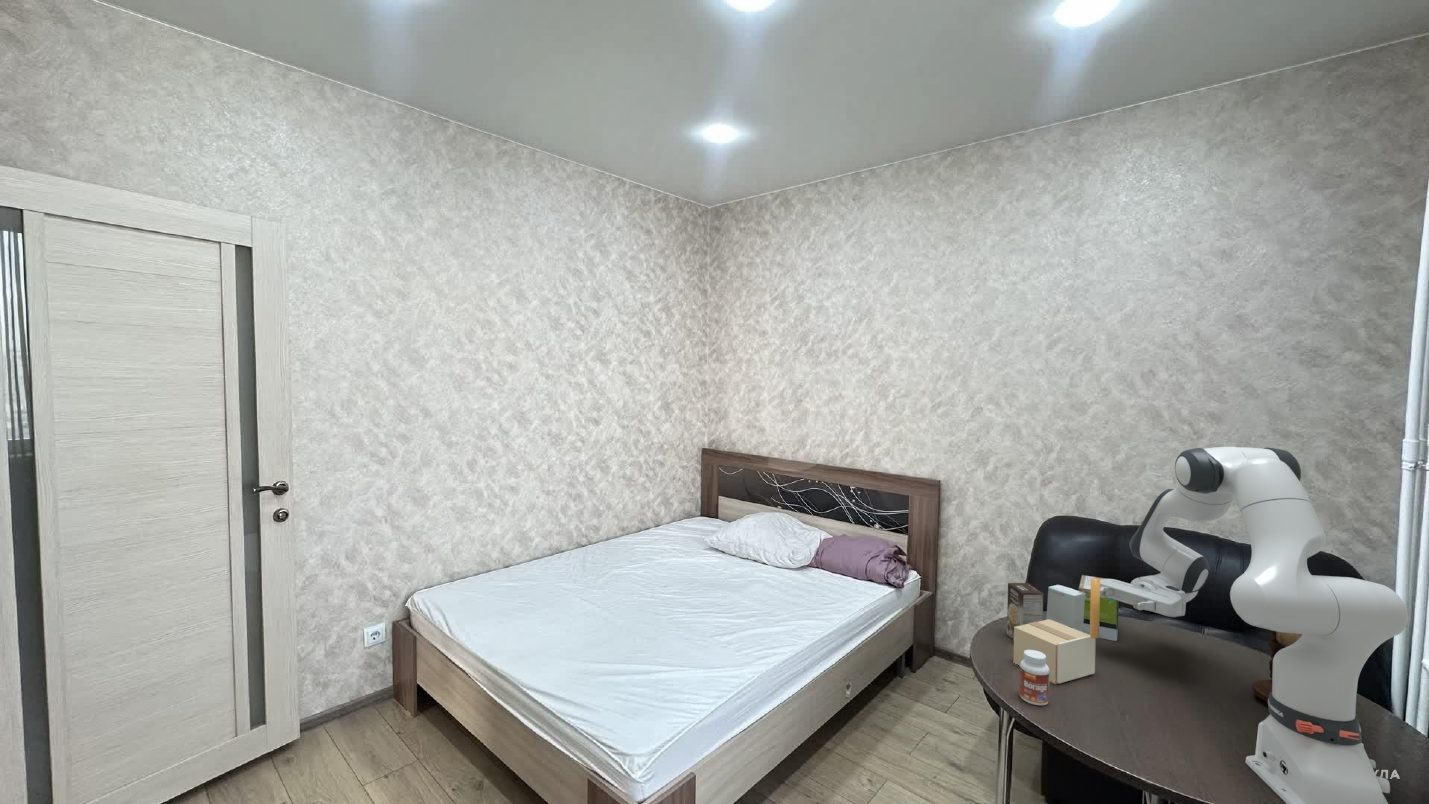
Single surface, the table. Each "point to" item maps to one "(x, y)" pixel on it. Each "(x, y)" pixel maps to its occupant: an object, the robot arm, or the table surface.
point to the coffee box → (1023, 606)
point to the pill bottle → (1034, 678)
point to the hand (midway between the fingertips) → (1117, 600)
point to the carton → (1043, 641)
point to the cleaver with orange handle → (1080, 645)
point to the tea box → (1107, 612)
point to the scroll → (1265, 686)
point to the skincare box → (1066, 606)
